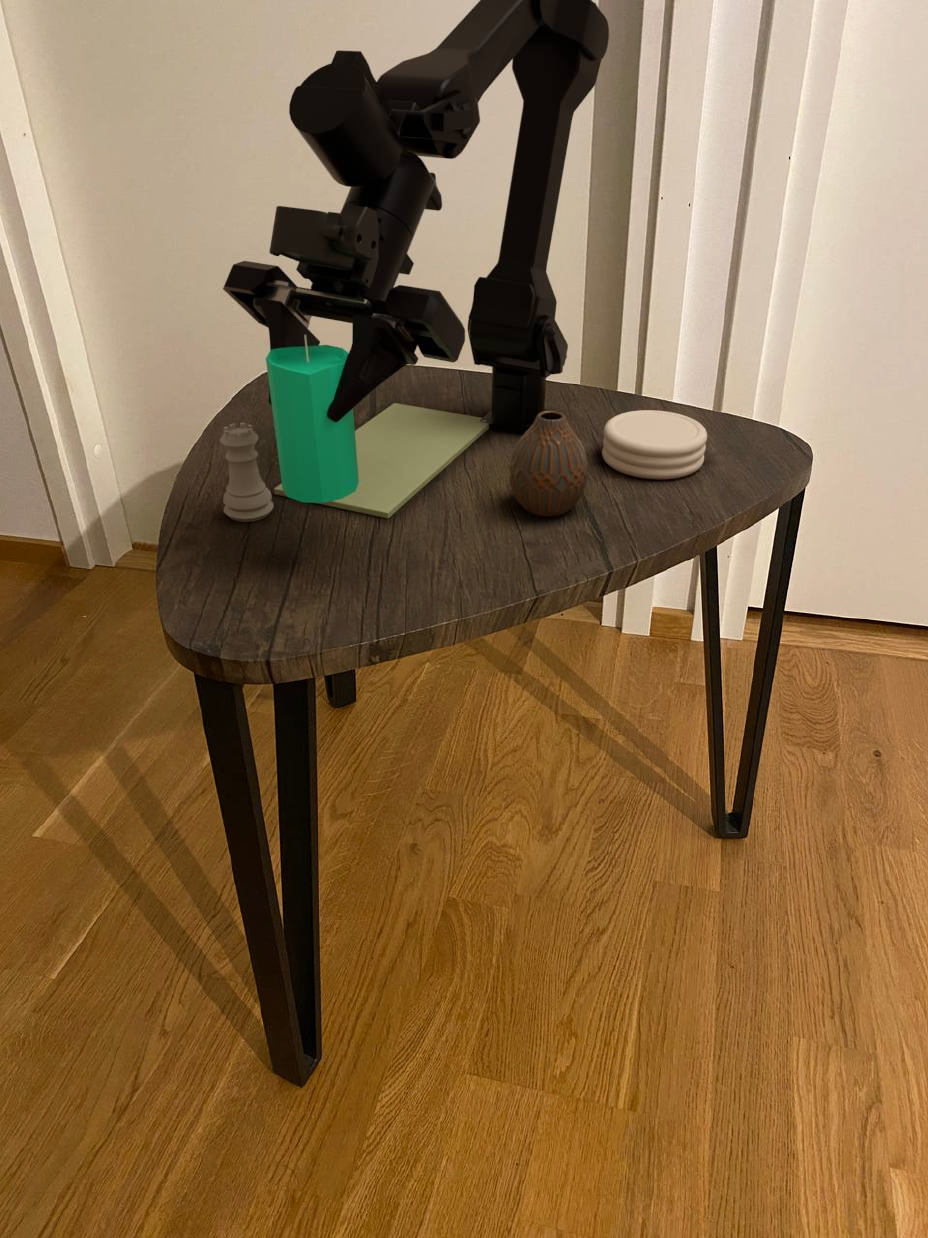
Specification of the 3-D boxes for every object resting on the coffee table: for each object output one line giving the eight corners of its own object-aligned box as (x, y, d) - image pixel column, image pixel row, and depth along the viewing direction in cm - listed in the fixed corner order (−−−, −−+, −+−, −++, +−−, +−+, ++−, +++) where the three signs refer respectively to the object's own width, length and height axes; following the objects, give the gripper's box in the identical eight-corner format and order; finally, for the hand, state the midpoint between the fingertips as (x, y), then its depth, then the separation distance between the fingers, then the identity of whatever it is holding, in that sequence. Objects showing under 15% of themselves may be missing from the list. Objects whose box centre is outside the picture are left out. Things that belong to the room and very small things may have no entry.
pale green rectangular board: (394, 407, 109) (394, 402, 109) (493, 424, 105) (493, 419, 105) (274, 494, 91) (273, 488, 91) (388, 518, 87) (387, 512, 87)
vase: (580, 527, 86) (587, 433, 81) (502, 520, 87) (505, 427, 82) (588, 493, 91) (595, 403, 86) (515, 487, 92) (517, 397, 88)
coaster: (593, 474, 95) (595, 440, 93) (610, 435, 103) (613, 403, 101) (698, 487, 92) (703, 452, 90) (707, 446, 100) (712, 414, 98)
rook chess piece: (230, 527, 86) (217, 441, 81) (219, 506, 89) (206, 423, 85) (279, 518, 87) (270, 433, 83) (267, 497, 91) (257, 415, 86)
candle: (268, 496, 76) (247, 343, 69) (305, 465, 80) (288, 318, 74) (337, 508, 74) (323, 352, 67) (371, 475, 79) (360, 326, 72)
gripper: (221, 145, 71) (138, 339, 69) (442, 166, 63) (356, 384, 61) (299, 236, 81) (228, 407, 79) (498, 264, 73) (425, 454, 72)
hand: (301, 412), depth 73 cm, fingers closed on candle, 5 cm apart
